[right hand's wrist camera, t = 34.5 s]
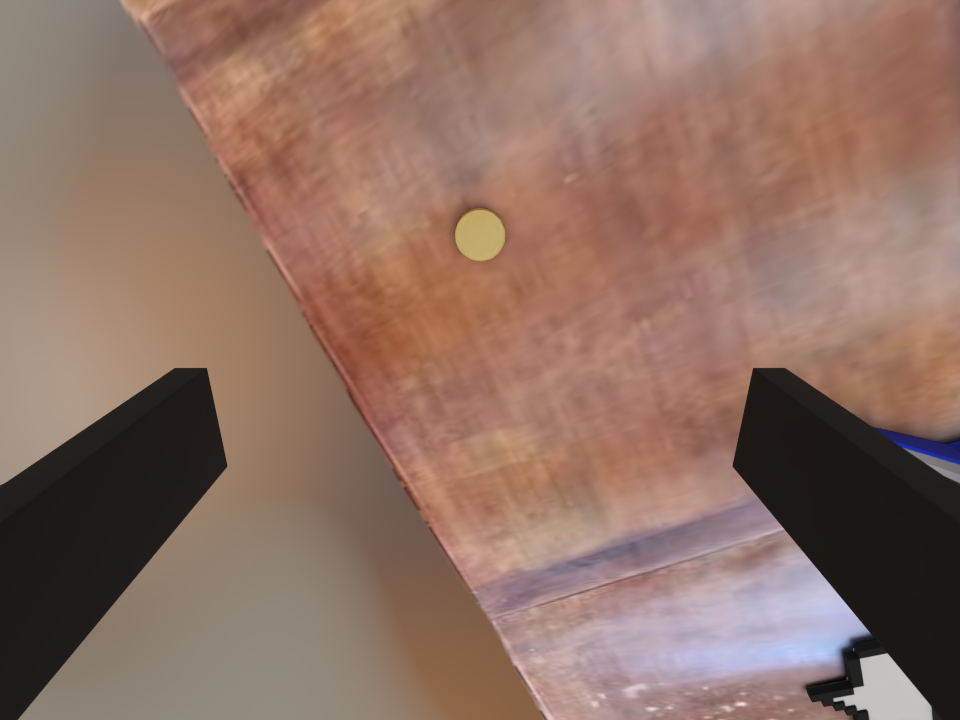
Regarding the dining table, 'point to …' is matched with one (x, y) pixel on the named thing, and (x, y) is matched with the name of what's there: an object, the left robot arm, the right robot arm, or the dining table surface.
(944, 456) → the toy spaceship
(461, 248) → the cap
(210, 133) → the dining table surface
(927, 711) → the decorative sign
